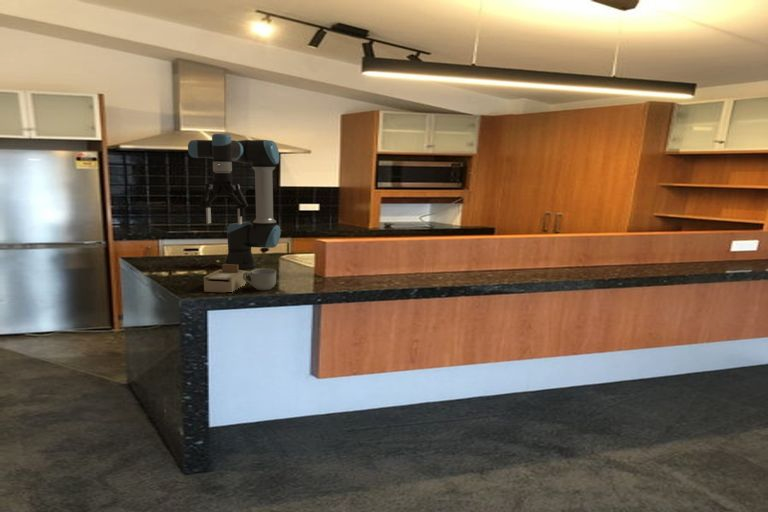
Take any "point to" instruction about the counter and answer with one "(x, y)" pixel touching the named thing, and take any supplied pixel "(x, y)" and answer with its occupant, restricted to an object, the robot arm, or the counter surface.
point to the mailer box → (224, 282)
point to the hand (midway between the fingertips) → (224, 223)
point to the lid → (226, 272)
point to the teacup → (262, 278)
